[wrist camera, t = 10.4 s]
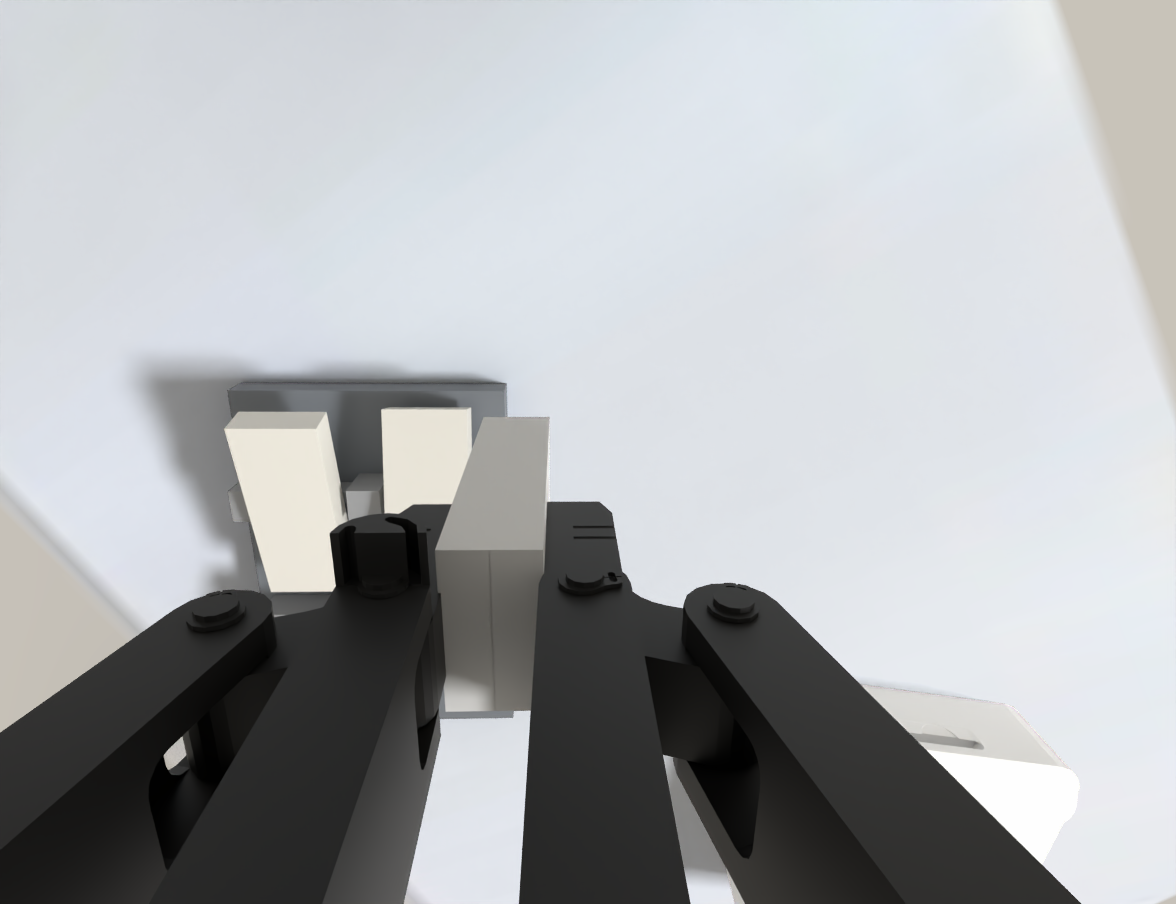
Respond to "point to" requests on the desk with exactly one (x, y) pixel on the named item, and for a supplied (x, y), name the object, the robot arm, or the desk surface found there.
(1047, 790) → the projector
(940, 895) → the robot arm
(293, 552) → the block
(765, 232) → the desk surface
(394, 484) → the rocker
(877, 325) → the desk surface
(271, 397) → the panel
